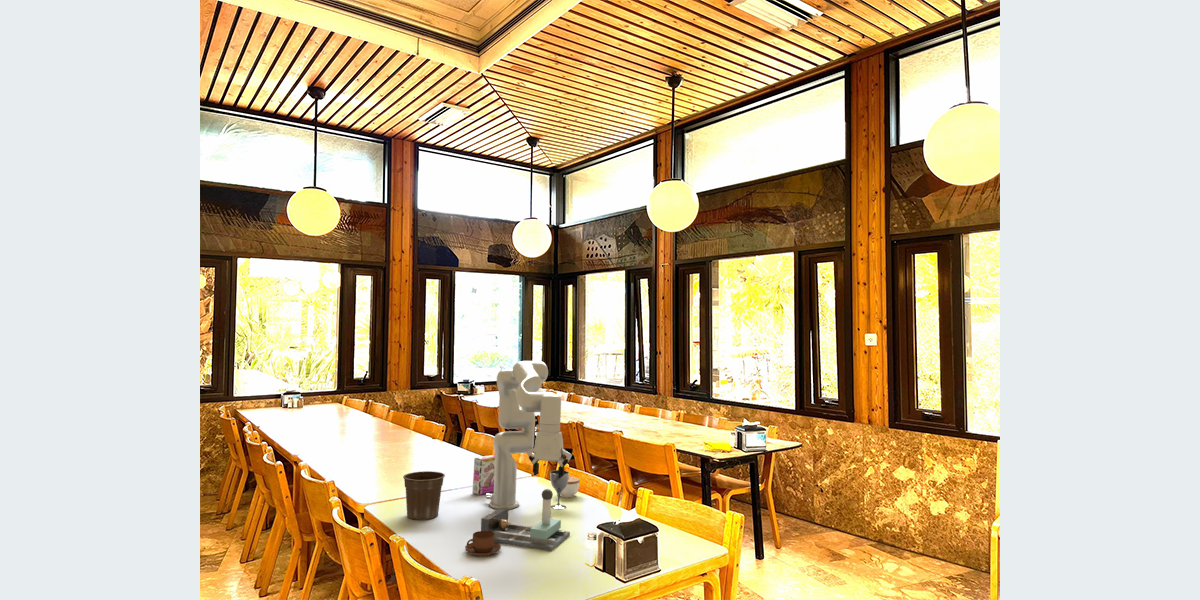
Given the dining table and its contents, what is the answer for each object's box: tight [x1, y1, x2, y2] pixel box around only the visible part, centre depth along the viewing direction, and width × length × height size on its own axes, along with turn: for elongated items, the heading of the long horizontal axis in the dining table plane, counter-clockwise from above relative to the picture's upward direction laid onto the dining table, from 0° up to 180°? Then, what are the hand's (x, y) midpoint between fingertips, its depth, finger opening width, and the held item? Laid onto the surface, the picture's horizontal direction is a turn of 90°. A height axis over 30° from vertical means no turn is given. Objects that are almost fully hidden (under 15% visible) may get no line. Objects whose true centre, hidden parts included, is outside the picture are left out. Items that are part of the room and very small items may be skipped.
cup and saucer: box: [464, 530, 502, 557], centre depth 212 cm, size 12×12×6 cm
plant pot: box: [402, 470, 446, 521], centre depth 250 cm, size 16×16×16 cm
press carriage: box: [530, 488, 562, 540], centre depth 226 cm, size 6×14×16 cm, turn 162°
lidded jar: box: [560, 476, 580, 498], centre depth 289 cm, size 11×11×9 cm
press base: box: [480, 507, 571, 552], centre depth 228 cm, size 28×18×8 cm, turn 72°
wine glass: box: [549, 469, 570, 510], centre depth 270 cm, size 8×8×15 cm
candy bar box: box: [472, 454, 495, 496], centre depth 290 cm, size 11×5×16 cm, turn 144°
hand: (548, 476), depth 226 cm, fingers open, 9 cm apart
